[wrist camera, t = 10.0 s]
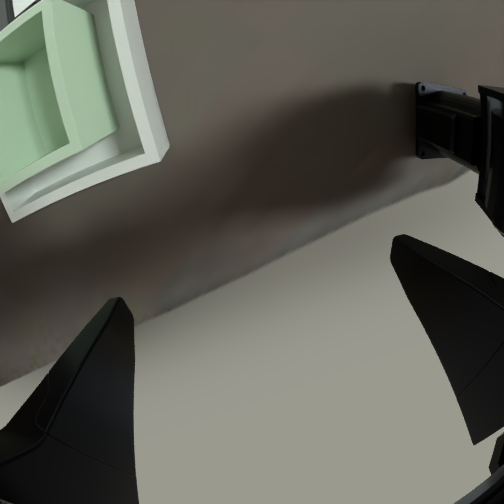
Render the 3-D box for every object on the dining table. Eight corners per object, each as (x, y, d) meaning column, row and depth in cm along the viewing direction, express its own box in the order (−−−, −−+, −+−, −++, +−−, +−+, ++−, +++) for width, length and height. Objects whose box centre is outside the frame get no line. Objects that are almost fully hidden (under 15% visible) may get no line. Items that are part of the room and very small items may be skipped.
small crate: (93, 14, 10) (51, -5, 5) (120, 128, 15) (83, 149, 10) (20, 59, 10) (-32, 63, 5) (47, 161, 15) (1, 194, 10)
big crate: (130, -19, 9) (114, -39, 6) (170, 145, 17) (160, 161, 14) (-4, 61, 9) (-34, 65, 6) (36, 199, 17) (12, 223, 14)
